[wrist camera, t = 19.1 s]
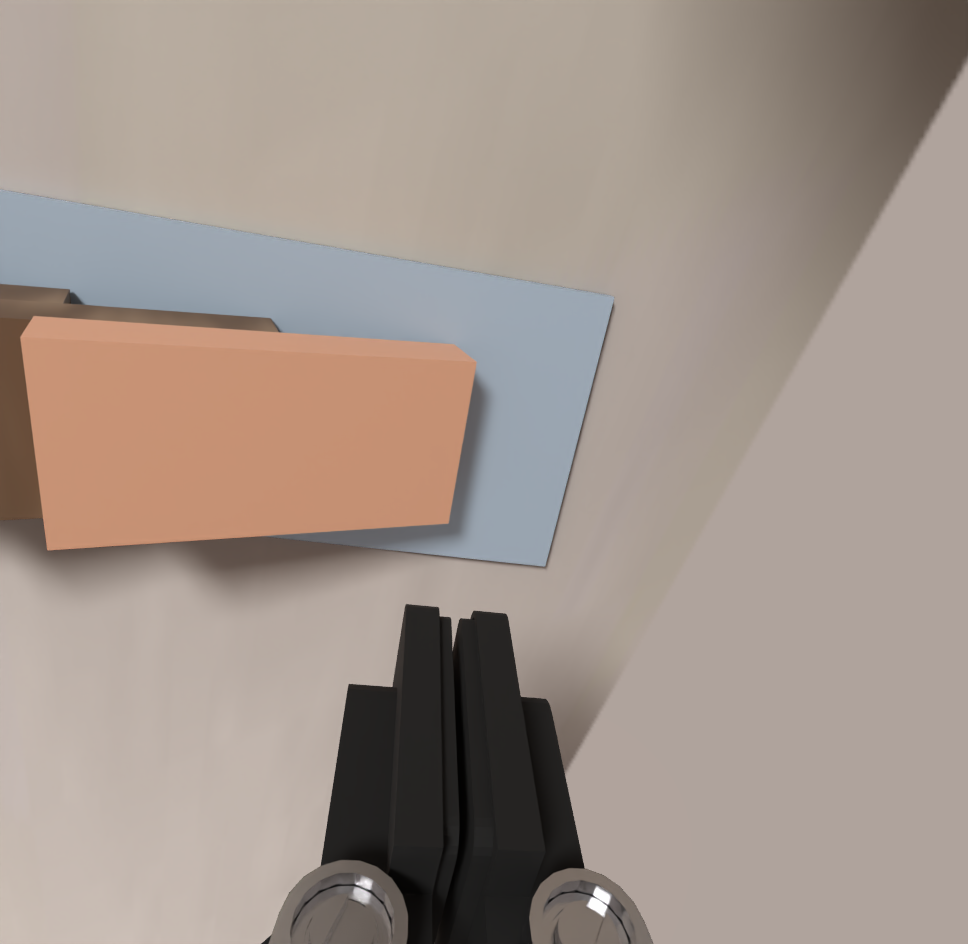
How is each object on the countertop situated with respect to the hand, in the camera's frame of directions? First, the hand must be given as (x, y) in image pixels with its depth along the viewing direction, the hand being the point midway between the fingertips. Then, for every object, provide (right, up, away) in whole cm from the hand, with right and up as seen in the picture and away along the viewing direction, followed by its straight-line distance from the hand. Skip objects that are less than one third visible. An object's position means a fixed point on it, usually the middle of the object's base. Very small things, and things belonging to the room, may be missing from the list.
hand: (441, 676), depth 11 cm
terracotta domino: (0, +5, +12) cm, 13 cm away
